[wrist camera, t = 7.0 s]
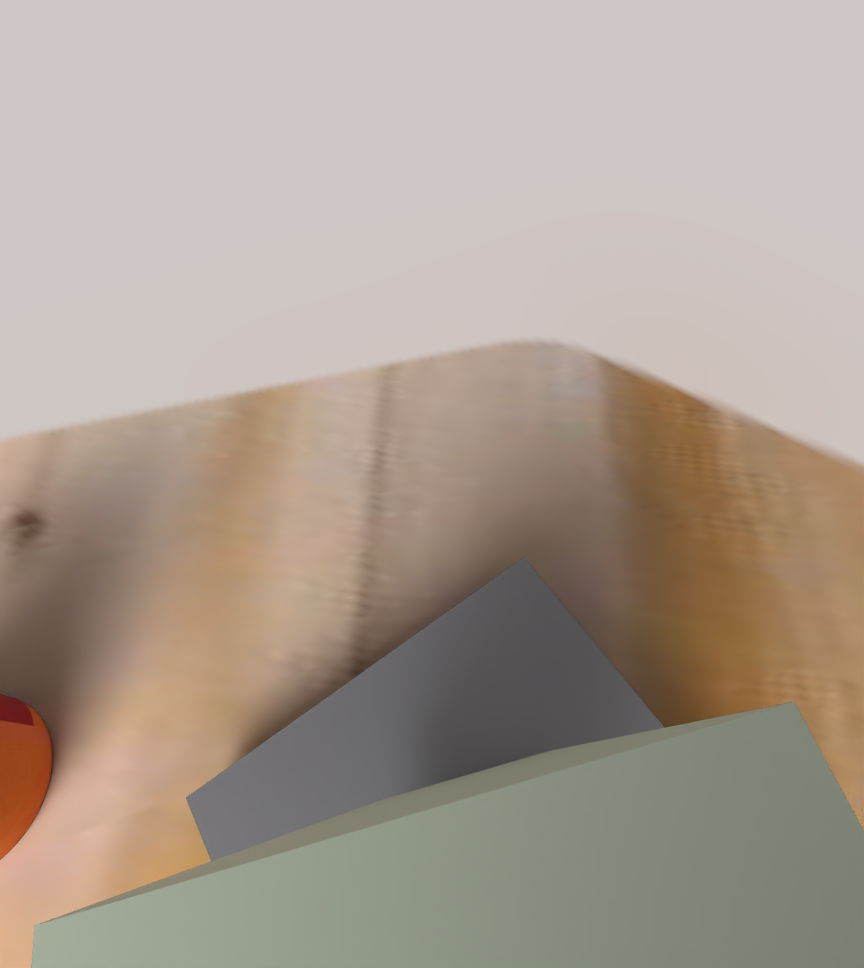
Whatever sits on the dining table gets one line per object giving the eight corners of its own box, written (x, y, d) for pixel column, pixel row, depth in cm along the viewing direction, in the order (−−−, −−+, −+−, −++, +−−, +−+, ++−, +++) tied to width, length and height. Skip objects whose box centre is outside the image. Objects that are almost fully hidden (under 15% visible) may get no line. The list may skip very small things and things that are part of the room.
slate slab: (793, 922, 15) (848, 950, 13) (436, 1288, 12) (428, 1402, 10) (518, 579, 20) (524, 557, 18) (222, 793, 17) (186, 797, 15)
